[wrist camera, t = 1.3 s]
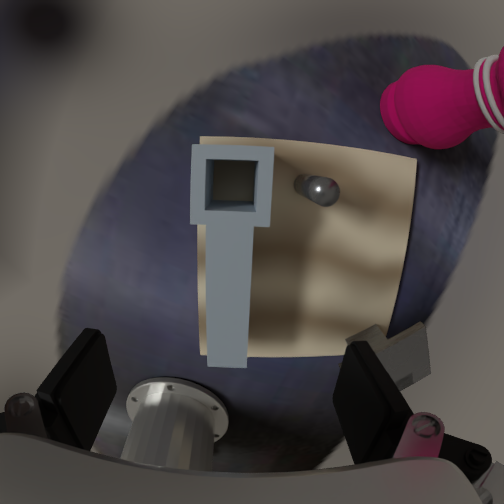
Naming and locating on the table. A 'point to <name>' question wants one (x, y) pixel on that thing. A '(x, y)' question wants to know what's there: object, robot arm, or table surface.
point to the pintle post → (317, 189)
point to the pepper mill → (445, 103)
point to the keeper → (399, 353)
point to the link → (229, 246)
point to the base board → (318, 246)
